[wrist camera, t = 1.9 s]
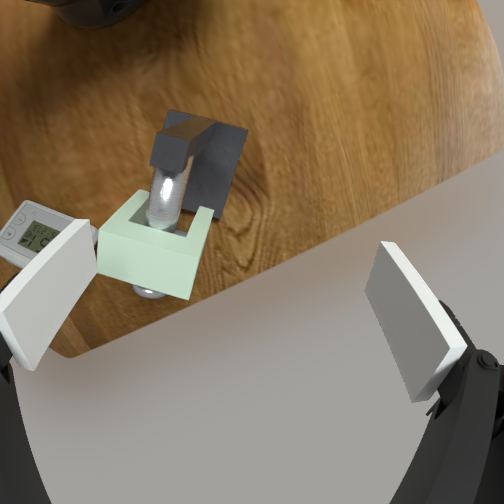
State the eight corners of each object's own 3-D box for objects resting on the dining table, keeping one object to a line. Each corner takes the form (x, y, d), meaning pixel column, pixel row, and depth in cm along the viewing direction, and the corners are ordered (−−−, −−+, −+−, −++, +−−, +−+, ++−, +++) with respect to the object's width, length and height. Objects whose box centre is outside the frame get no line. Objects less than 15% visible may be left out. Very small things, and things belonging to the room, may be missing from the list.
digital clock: (108, 230, 42) (75, 267, 33) (92, 271, 46) (63, 311, 37) (31, 181, 38) (-11, 206, 28) (21, 224, 41) (-15, 255, 32)
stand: (148, 210, 41) (93, 285, 25) (171, 108, 34) (108, 122, 18) (217, 229, 42) (196, 316, 26) (248, 128, 35) (244, 155, 20)
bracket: (133, 223, 31) (96, 272, 22) (139, 189, 29) (98, 229, 21) (204, 243, 32) (188, 300, 24) (214, 209, 30) (199, 258, 22)
